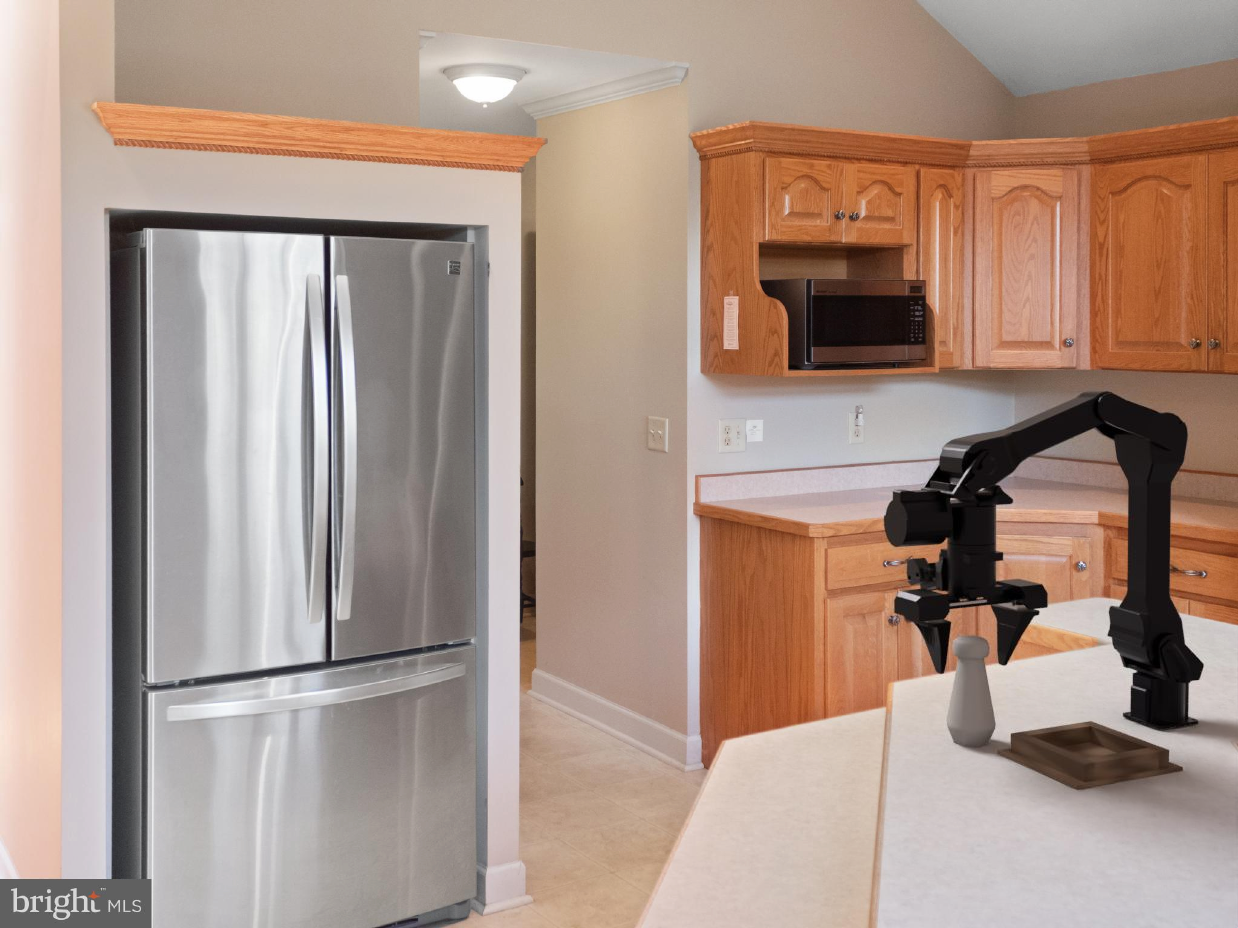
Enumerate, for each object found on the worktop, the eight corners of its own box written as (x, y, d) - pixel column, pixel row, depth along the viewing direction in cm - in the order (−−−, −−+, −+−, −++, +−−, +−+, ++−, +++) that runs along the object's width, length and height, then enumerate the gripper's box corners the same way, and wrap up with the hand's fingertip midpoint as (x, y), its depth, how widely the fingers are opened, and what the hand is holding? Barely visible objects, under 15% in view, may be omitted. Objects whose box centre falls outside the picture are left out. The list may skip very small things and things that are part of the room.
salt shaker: (998, 750, 138) (998, 643, 137) (948, 747, 139) (948, 642, 138) (992, 735, 143) (992, 632, 142) (944, 733, 144) (944, 631, 144)
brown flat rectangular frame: (1097, 737, 142) (1097, 718, 141) (1182, 770, 129) (1183, 749, 129) (997, 753, 136) (997, 733, 136) (1076, 789, 124) (1076, 767, 124)
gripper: (991, 529, 150) (991, 647, 151) (868, 539, 144) (869, 662, 145) (1051, 540, 140) (1050, 666, 141) (921, 551, 133) (922, 683, 134)
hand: (971, 668), depth 140 cm, fingers open, 9 cm apart
